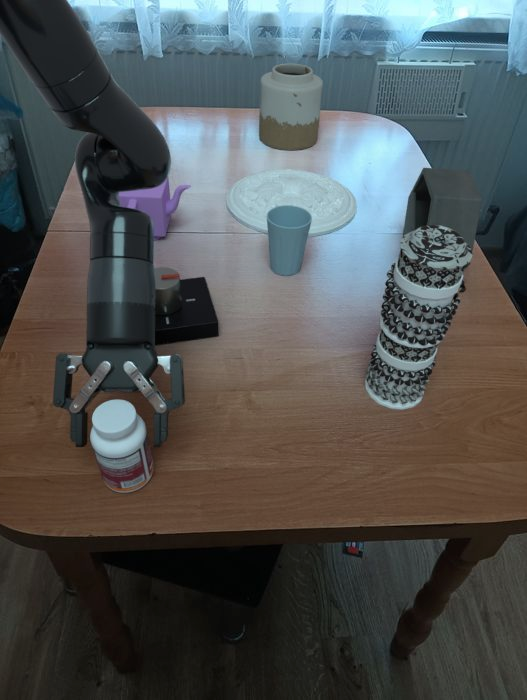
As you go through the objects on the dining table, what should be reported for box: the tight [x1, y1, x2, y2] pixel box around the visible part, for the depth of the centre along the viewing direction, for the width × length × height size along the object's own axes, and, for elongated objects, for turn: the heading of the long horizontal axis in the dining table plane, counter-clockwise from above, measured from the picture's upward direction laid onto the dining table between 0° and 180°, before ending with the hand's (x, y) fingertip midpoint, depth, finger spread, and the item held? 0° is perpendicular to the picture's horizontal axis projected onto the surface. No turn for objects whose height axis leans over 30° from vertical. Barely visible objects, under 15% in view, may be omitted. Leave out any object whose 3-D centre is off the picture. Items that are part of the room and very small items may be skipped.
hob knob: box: [154, 266, 182, 315], centre depth 83 cm, size 6×6×5 cm
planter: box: [401, 167, 483, 271], centre depth 94 cm, size 17×8×21 cm
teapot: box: [119, 176, 192, 241], centre depth 102 cm, size 15×13×11 cm
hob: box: [155, 276, 220, 346], centre depth 86 cm, size 15×12×3 cm
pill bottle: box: [89, 398, 155, 494], centre depth 62 cm, size 6×6×11 cm
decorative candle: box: [364, 225, 474, 411], centre depth 69 cm, size 9×9×25 cm
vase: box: [258, 63, 324, 151], centre depth 135 cm, size 15×15×17 cm
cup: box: [267, 205, 312, 277], centre depth 95 cm, size 8×8×10 cm
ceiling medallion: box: [225, 168, 358, 238], centre depth 115 cm, size 28×28×3 cm
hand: (120, 446), depth 61 cm, fingers open, 8 cm apart
